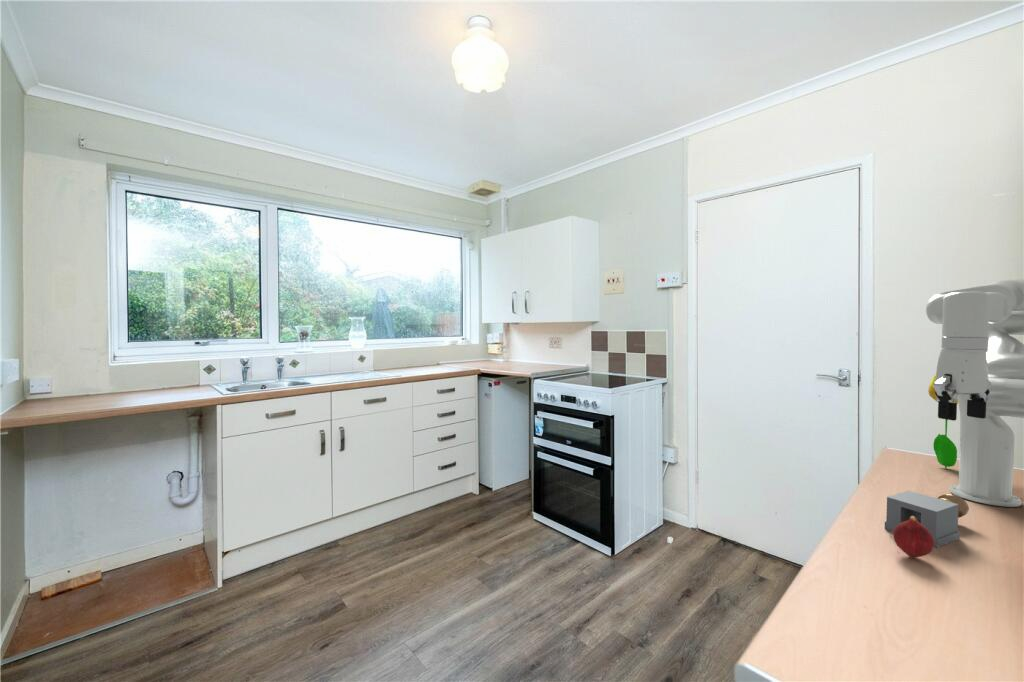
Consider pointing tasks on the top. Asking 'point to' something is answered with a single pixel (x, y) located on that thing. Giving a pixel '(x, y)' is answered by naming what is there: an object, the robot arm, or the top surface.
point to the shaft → (956, 499)
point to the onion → (913, 538)
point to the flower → (943, 438)
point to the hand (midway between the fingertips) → (961, 418)
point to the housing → (924, 515)
